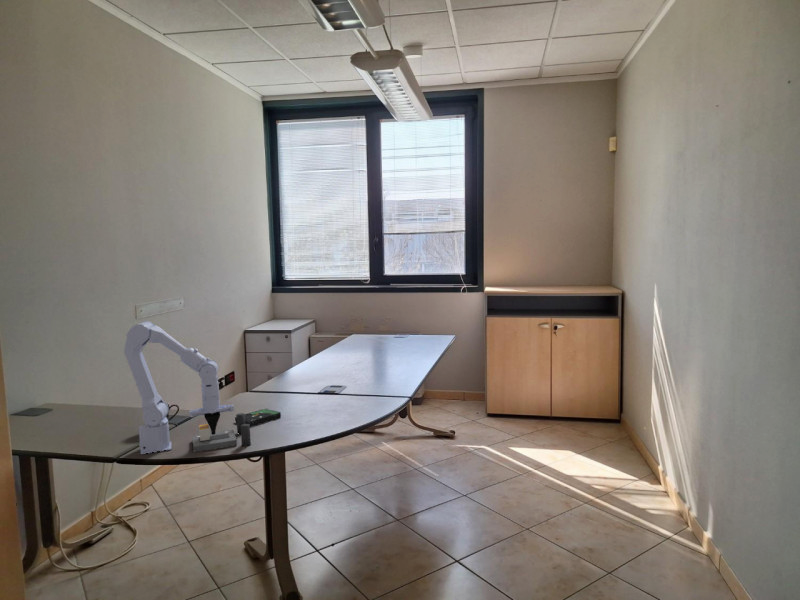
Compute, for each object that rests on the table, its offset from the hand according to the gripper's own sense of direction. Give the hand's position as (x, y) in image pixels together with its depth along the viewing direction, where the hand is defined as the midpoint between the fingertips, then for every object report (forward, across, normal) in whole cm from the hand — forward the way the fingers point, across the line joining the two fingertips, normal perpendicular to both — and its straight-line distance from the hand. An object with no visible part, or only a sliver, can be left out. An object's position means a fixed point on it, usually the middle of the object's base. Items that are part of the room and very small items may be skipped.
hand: (213, 433), depth 188 cm
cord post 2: (+3, +10, -7) cm, 13 cm away
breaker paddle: (+1, -3, 0) cm, 3 cm away
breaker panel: (+3, 0, 0) cm, 4 cm away
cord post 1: (+3, +10, +7) cm, 13 cm away
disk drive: (+4, +18, +20) cm, 27 cm away
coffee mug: (+4, -17, +25) cm, 30 cm away
